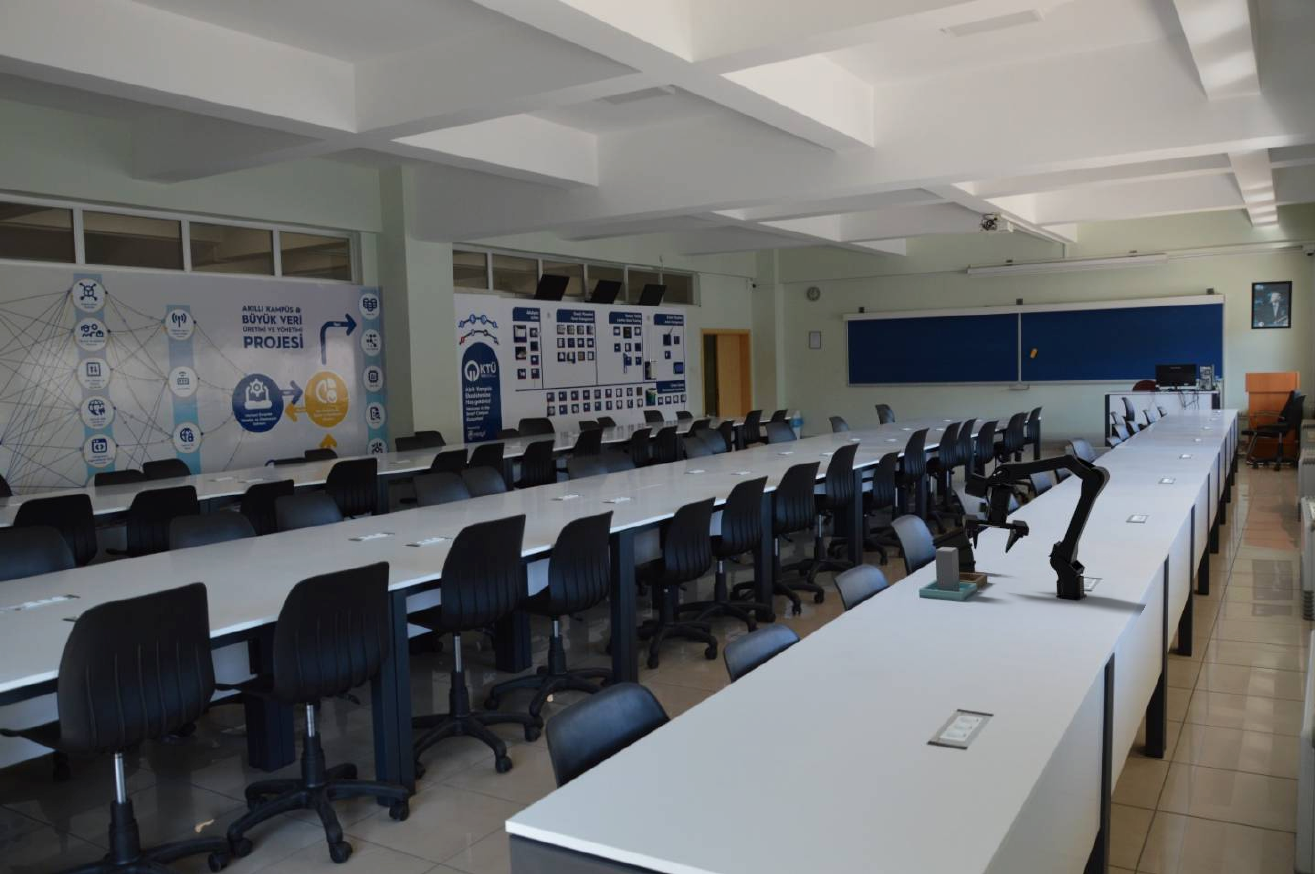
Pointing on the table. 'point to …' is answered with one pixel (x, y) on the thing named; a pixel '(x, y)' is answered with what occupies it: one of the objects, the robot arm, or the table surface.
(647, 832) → the table surface
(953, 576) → the grey lidded box
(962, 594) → the teal tray
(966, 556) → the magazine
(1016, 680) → the table surface
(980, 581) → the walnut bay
